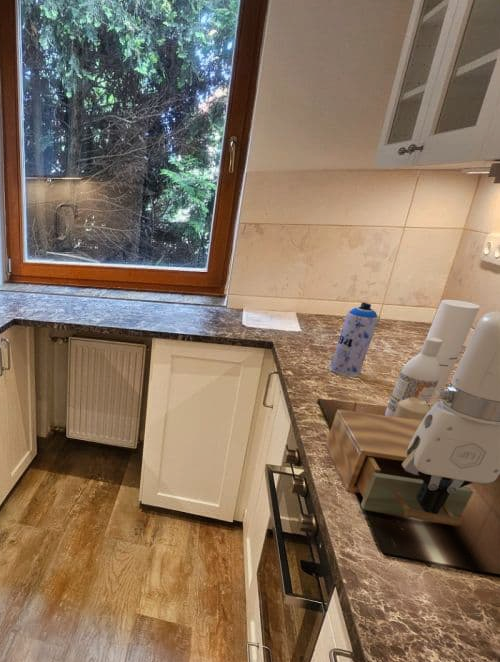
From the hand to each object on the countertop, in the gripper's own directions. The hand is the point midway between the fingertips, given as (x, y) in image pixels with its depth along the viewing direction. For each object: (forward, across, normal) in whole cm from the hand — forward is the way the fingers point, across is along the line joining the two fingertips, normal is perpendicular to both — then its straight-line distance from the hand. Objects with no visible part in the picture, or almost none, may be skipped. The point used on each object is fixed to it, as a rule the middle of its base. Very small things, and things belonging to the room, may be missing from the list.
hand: (426, 506), depth 73 cm
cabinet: (+6, 0, +18) cm, 19 cm away
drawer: (+5, 0, +8) cm, 9 cm away
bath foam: (+6, +13, +44) cm, 46 cm away
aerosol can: (+6, +8, +72) cm, 72 cm away
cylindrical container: (+6, +22, +58) cm, 62 cm away
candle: (+6, +9, +33) cm, 34 cm away
